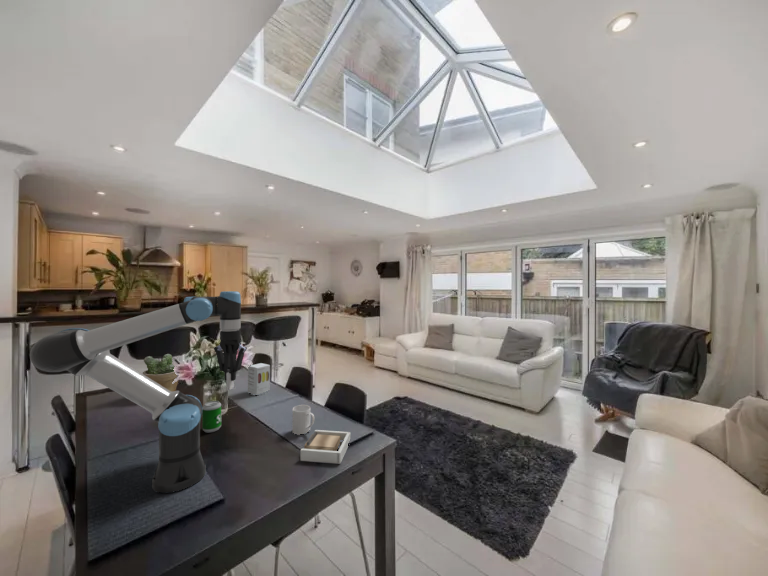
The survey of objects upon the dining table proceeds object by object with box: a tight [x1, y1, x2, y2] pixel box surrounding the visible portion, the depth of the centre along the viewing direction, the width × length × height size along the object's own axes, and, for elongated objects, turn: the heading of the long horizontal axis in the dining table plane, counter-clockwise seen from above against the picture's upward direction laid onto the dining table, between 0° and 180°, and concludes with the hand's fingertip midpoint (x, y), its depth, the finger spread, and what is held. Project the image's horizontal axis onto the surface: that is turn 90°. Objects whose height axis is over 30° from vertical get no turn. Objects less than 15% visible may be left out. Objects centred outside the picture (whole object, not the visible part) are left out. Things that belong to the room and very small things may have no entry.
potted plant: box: [142, 353, 179, 392], centre depth 180 cm, size 18×19×25 cm
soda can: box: [201, 400, 222, 434], centre depth 140 cm, size 8×8×12 cm
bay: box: [300, 429, 352, 465], centre depth 123 cm, size 16×15×4 cm
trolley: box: [303, 430, 341, 451], centre depth 124 cm, size 12×10×5 cm
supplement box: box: [247, 362, 271, 395], centre depth 188 cm, size 10×9×17 cm
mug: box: [291, 404, 316, 436], centre depth 138 cm, size 12×8×10 cm, turn 53°
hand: (230, 388), depth 124 cm, fingers closed
